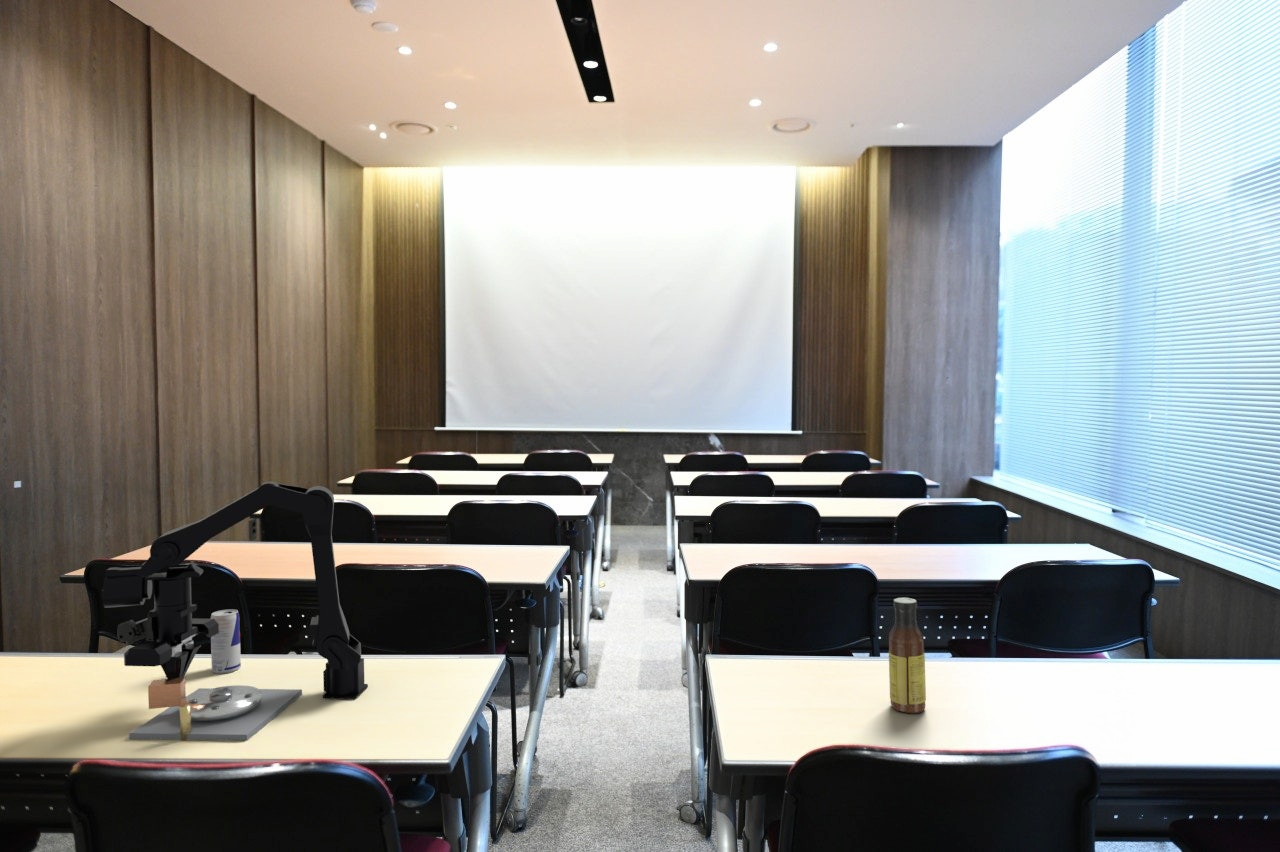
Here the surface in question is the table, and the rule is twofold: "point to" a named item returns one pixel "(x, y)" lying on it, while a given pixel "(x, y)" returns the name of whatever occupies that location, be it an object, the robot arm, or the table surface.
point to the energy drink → (226, 642)
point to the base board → (222, 729)
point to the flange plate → (204, 699)
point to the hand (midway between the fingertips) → (175, 688)
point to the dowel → (185, 720)
